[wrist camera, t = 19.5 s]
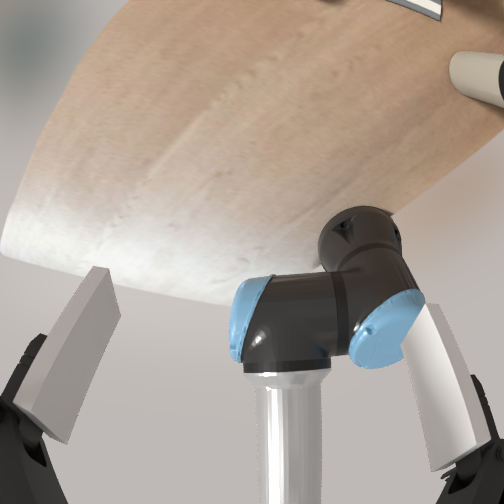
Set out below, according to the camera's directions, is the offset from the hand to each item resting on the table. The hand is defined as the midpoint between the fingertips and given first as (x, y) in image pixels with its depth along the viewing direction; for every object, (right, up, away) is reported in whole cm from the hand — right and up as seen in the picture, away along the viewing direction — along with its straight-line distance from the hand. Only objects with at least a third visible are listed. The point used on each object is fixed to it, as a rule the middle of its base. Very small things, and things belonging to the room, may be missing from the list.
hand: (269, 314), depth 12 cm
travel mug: (+34, +31, +21) cm, 50 cm away
